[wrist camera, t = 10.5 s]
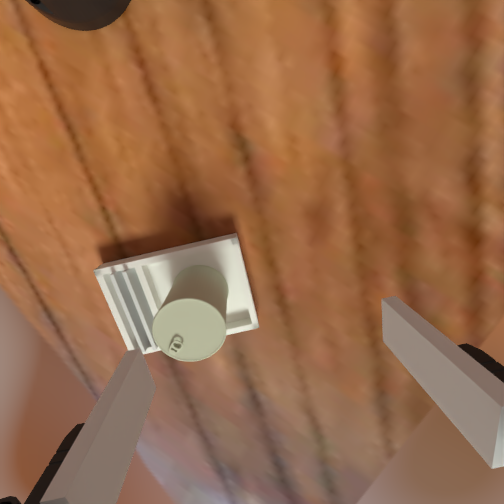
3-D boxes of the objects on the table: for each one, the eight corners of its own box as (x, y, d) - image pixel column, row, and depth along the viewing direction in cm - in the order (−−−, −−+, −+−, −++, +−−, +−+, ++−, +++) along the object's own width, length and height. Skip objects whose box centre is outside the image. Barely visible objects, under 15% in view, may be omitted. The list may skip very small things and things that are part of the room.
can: (161, 295, 43) (135, 340, 32) (193, 253, 42) (178, 284, 30) (206, 324, 46) (197, 376, 34) (239, 285, 44) (241, 326, 32)
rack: (102, 263, 42) (89, 272, 38) (236, 232, 42) (237, 238, 38) (137, 345, 47) (129, 361, 43) (257, 318, 47) (259, 331, 43)
